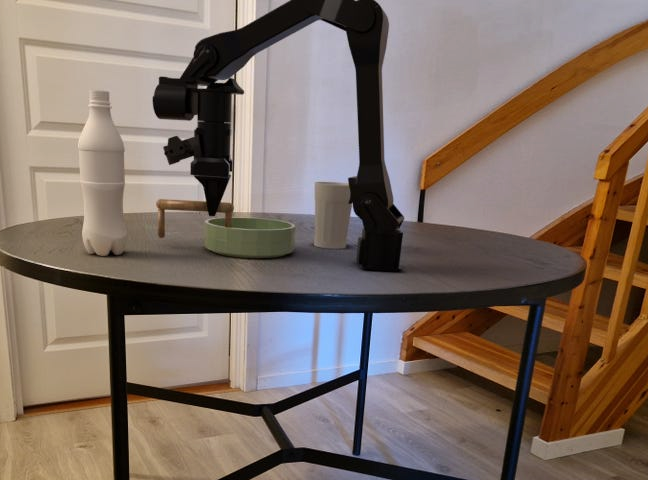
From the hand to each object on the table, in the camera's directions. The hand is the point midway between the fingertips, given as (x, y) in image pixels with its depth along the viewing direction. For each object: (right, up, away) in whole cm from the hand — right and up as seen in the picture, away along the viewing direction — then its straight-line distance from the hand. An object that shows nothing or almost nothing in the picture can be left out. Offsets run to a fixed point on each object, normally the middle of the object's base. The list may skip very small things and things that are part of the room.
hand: (212, 215), depth 110 cm
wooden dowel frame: (-1, -4, +1) cm, 5 cm away
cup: (+22, -3, +13) cm, 26 cm away
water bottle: (-17, -8, -7) cm, 20 cm away
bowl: (+7, -6, +2) cm, 9 cm away
